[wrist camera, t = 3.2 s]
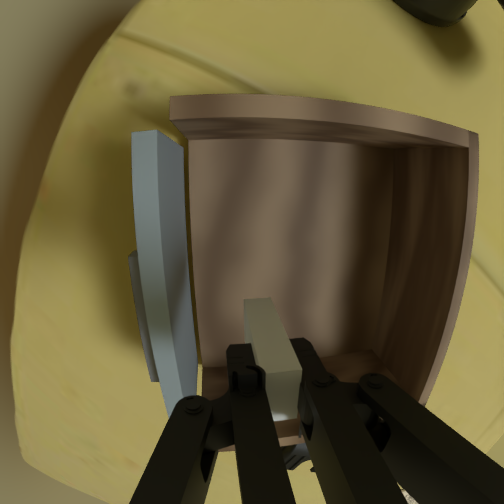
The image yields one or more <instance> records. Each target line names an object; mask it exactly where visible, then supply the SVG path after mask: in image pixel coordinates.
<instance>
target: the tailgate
mask: <svg viewBox="0 0 504 504" xmlns="http://www.w3.org/2000/svg"><path fill="white" fill-rule="evenodd" d="M132 185H133V204H134V219H135V231H136V242H137V250H135V251H133V252H132V253H131V254H130V255H129V256H128V260H129V268H130V276H131V283H132V289H133V296H134V302H135V308H136V313H137V319H138V324H139V330H140V335H141V339H142V344H143V349H144V353H145V358H146V362H147V367H148V371H149V375H150V379H151V382H160V386H161V390H162V394H163V398H164V402H165V406H166V409H167V413H168V417H169V418H170V415H171V413H172V411H173V409H174V407H175V405H176V403H177V402H178V401H179V400H180V399H182V398H184V397H186V396H190V395H196V392H197V372H198V358H197V350H196V342H195V333H194V323H193V314H192V303H191V292H190V280H189V267H188V253H187V237H186V218H185V193H184V148H183V147H182V146H180V145H179V144H177V143H176V142H174V141H173V140H171V139H170V138H169V137H167V136H166V135H164V134H163V133H161V132H160V131H158V130H149V131H139V132H132Z"/></svg>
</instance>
